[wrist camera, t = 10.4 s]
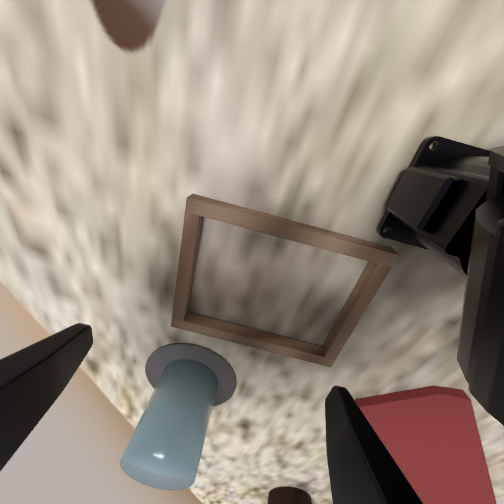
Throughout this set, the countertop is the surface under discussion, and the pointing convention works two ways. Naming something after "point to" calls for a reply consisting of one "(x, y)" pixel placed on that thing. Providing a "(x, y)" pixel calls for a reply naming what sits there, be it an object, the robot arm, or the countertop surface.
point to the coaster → (196, 353)
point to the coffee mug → (288, 496)
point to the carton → (433, 443)
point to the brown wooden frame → (205, 207)
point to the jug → (172, 427)
